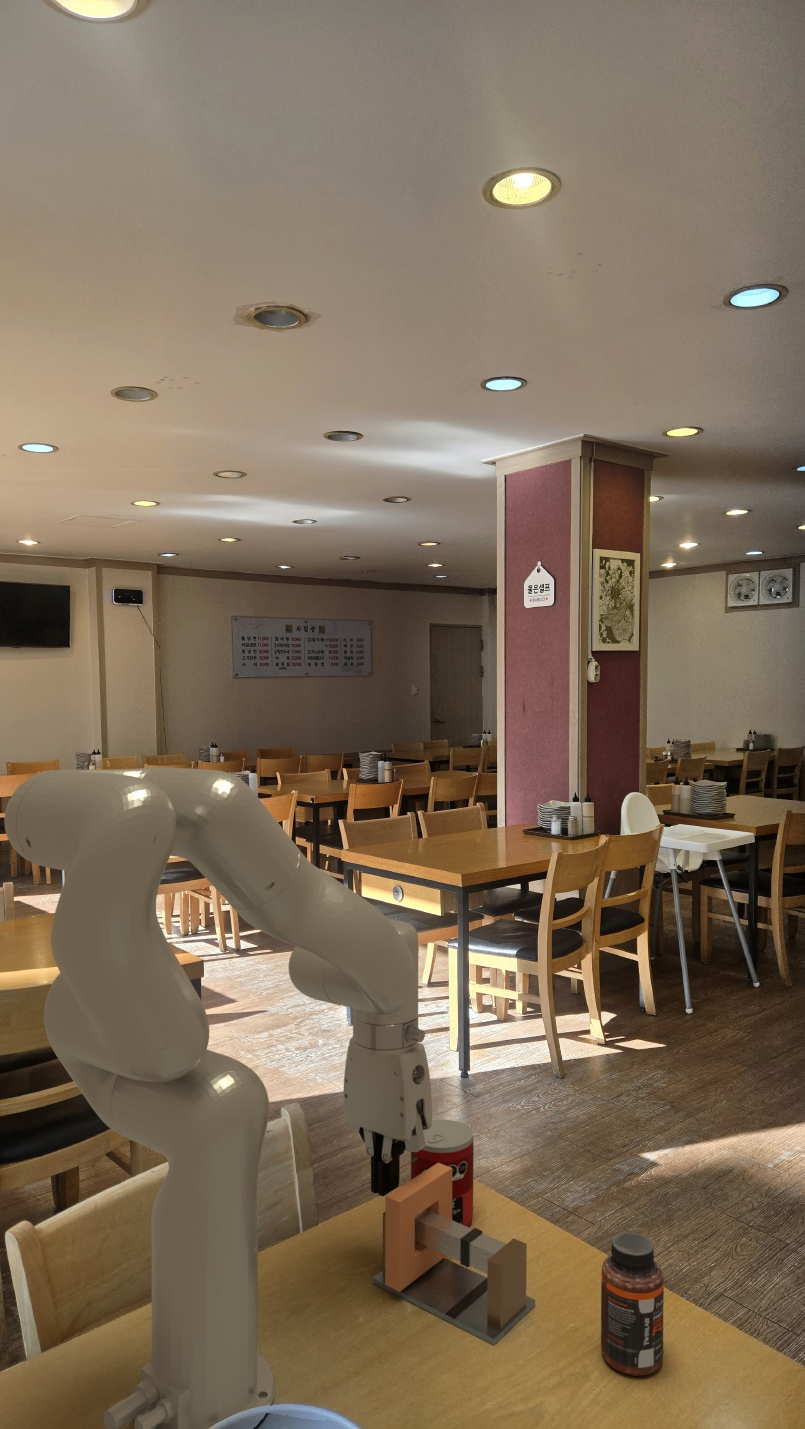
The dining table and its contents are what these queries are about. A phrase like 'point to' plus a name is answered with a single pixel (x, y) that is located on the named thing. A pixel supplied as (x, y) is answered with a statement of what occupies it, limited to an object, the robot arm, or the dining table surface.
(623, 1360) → the supplement bottle
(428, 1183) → the collar
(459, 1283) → the stand
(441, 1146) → the canned food
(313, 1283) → the dining table surface
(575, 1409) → the dining table surface
